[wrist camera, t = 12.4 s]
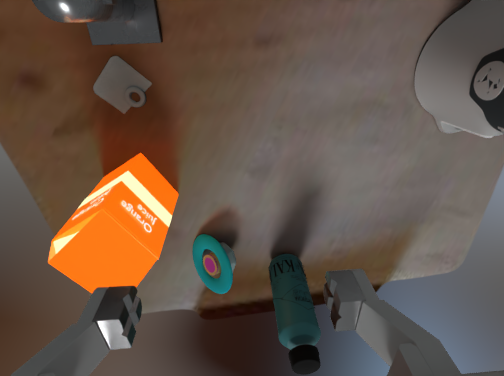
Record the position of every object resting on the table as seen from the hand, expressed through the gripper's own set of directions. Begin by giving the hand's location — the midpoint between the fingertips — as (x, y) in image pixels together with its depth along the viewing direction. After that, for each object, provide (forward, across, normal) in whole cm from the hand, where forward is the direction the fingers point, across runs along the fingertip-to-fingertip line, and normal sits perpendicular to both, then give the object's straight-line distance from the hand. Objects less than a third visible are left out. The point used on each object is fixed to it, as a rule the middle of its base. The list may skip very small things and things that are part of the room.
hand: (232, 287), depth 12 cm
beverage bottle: (+31, -8, +30) cm, 44 cm away
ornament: (+31, +5, +26) cm, 41 cm away
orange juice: (+31, +15, +12) cm, 37 cm away
